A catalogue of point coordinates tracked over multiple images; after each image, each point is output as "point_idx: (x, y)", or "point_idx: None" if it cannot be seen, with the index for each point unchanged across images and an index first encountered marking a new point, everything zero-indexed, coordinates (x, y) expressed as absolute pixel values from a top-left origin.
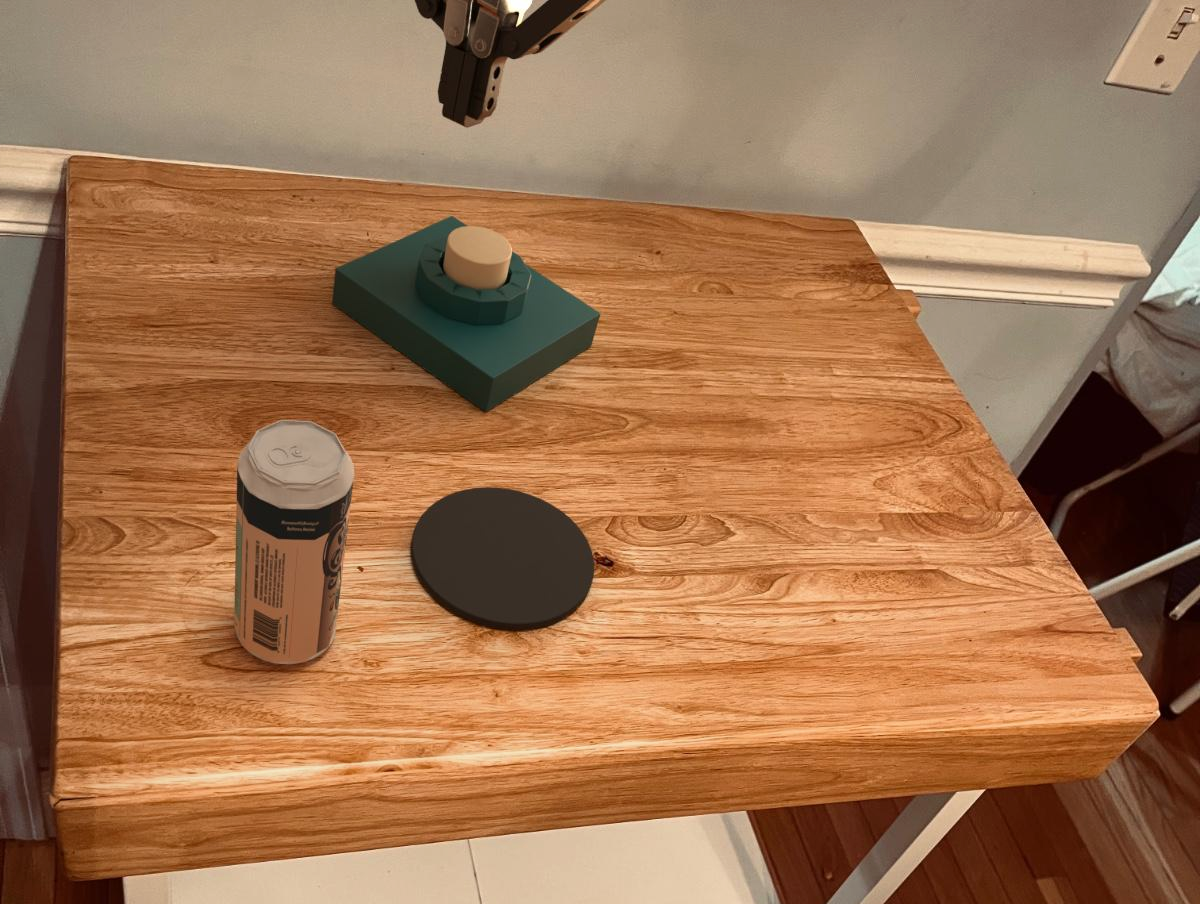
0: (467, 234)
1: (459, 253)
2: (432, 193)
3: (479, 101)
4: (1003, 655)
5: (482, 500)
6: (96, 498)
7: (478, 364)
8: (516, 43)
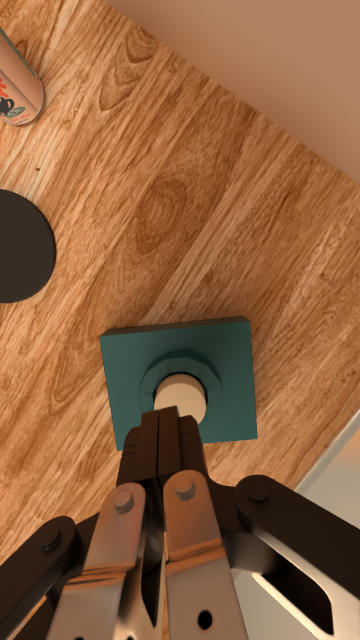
0: (195, 407)
1: (177, 384)
2: (306, 459)
3: (130, 444)
4: None
5: (39, 267)
6: (166, 65)
7: (115, 337)
8: (41, 549)
